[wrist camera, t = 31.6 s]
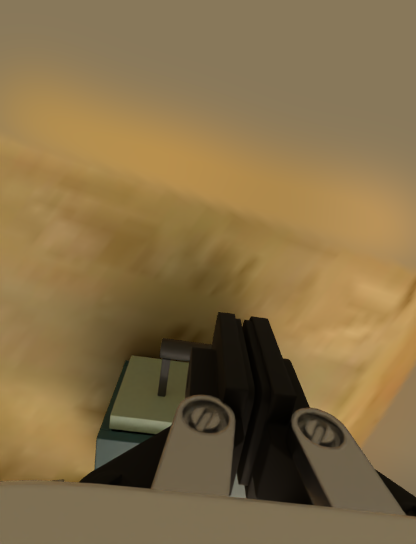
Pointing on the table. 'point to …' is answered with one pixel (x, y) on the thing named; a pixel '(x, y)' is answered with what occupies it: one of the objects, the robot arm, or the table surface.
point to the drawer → (153, 389)
